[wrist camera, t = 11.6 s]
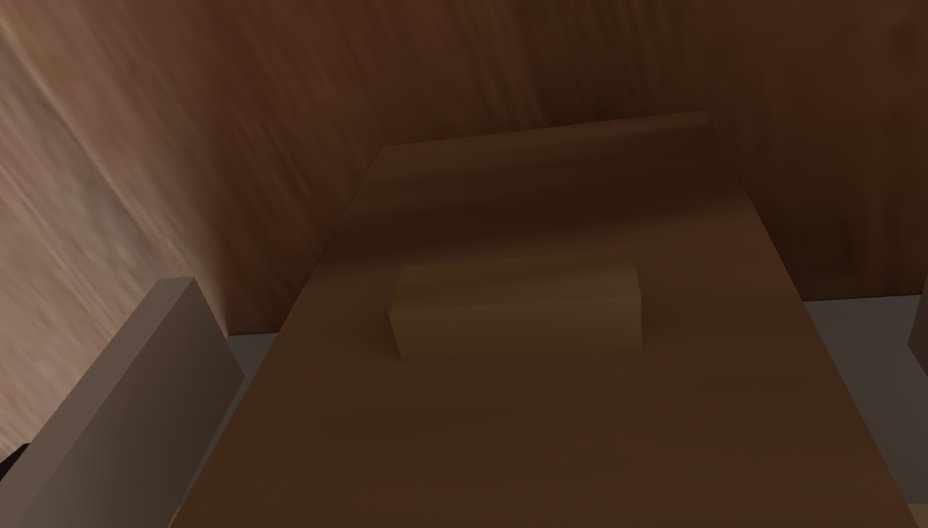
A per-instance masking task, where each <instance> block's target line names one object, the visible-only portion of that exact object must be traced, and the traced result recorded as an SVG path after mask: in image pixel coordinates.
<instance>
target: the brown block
mask: <svg viewBox="0 0 928 528" xmlns="http://www.w3.org/2000/svg"><path fill="white" fill-rule="evenodd" d="M170 528H919V527H918V525H917V523H916V521H915V519H914V518H913V516H912V514H911V512H910V510H909V508H908V506H907V504H906V502H905V500H904V498H903V496H902V494H901V492H900V490H899V488H898V486H897V484H896V482H895V480H894V479H893V477H892V475H891V473H890V471H889V469H888V467H887V465H886V463H885V461H884V459H883V457H882V455H881V453H880V451H879V449H878V447H877V445H876V443H875V442H874V440H873V438H872V436H871V434H870V432H869V430H868V428H867V426H866V424H865V422H864V420H863V418H862V416H861V414H860V412H859V410H858V408H857V406H856V404H855V403H854V401H853V399H852V397H851V395H850V393H849V391H848V389H847V387H846V385H845V383H844V381H843V379H842V377H841V375H840V373H839V371H838V369H837V367H836V365H835V364H834V362H833V360H832V358H831V356H830V354H829V352H828V350H827V348H826V346H825V344H824V342H823V340H822V338H821V336H820V334H819V332H818V330H817V328H816V326H815V325H814V323H813V321H812V319H811V317H810V315H809V313H808V311H807V309H806V307H805V305H804V303H803V301H802V299H801V297H800V295H799V293H798V291H797V289H796V287H795V286H794V284H793V282H792V280H791V278H790V276H789V274H788V272H787V270H786V268H785V266H784V264H783V262H782V260H781V258H780V256H779V254H778V252H777V250H776V248H775V247H774V245H773V243H772V241H771V239H770V237H769V235H768V233H767V231H766V229H765V227H764V225H763V223H762V221H761V219H760V217H759V215H758V213H757V211H756V209H755V208H754V206H753V204H752V202H751V200H750V198H749V196H748V194H747V192H746V190H745V188H744V186H743V184H742V182H741V180H740V178H739V176H738V174H737V172H736V171H735V169H734V167H733V165H732V163H731V161H730V159H729V157H728V155H727V153H726V151H725V149H724V147H723V145H722V143H721V141H720V139H719V137H718V135H717V133H716V132H715V130H714V128H713V126H712V124H711V122H710V120H709V118H708V116H707V114H706V112H705V110H696V111H688V112H679V113H670V114H661V115H652V116H643V117H634V118H626V119H617V120H608V121H599V122H590V123H581V124H573V125H564V126H555V127H546V128H537V129H528V130H520V131H511V132H502V133H493V134H484V135H475V136H467V137H458V138H449V139H440V140H431V141H422V142H414V143H405V144H396V145H387V146H382V147H381V149H380V151H379V153H378V155H377V156H376V158H375V160H374V162H373V164H372V165H371V167H370V169H369V171H368V173H367V174H366V176H365V178H364V180H363V182H362V183H361V185H360V187H359V189H358V191H357V192H356V194H355V196H354V198H353V200H352V201H351V203H350V205H349V207H348V209H347V210H346V212H345V214H344V216H343V218H342V219H341V221H340V223H339V225H338V227H337V228H336V230H335V232H334V234H333V236H332V237H331V239H330V241H329V243H328V244H327V246H326V248H325V250H324V252H323V253H322V255H321V257H320V259H319V261H318V262H317V264H316V266H315V268H314V270H313V271H312V273H311V275H310V277H309V279H308V280H307V282H306V284H305V286H304V288H303V289H302V291H301V293H300V295H299V297H298V298H297V300H296V302H295V304H294V306H293V307H292V309H291V311H290V313H289V315H288V316H287V318H286V320H285V322H284V324H283V325H282V327H281V329H280V331H279V333H278V334H277V336H276V338H275V340H274V341H273V343H272V345H271V347H270V349H269V350H268V352H267V354H266V356H265V358H264V359H263V361H262V363H261V365H260V367H259V368H258V370H257V372H256V374H255V376H254V377H253V379H252V381H251V383H250V385H249V386H248V388H247V390H246V392H245V394H244V395H243V397H242V399H241V401H240V403H239V404H238V406H237V408H236V410H235V412H234V413H233V415H232V417H231V419H230V421H229V422H228V424H227V426H226V428H225V430H224V431H223V433H222V435H221V437H220V438H219V440H218V442H217V444H216V446H215V447H214V449H213V451H212V453H211V455H210V456H209V458H208V460H207V462H206V464H205V465H204V467H203V469H202V471H201V473H200V474H199V476H198V478H197V480H196V482H195V483H194V485H193V487H192V489H191V491H190V492H189V494H188V496H187V498H186V500H185V501H184V503H183V505H182V507H181V509H180V510H179V512H178V514H177V516H176V518H175V519H174V521H173V523H172V525H171V527H170Z"/></svg>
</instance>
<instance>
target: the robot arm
mask: <svg viewBox="0 0 928 528" xmlns="http://www.w3.org/2000/svg"><path fill="white" fill-rule="evenodd" d="M907 345H908V347H909V348H910V350H911V352H912V353H913V355H914V356H915V358H916V360H917V361H918V363H919V364H920V366H921V368H922V369H923V371H924V372H925V374H926V376H927V377H928V273H927V277H926V280H925V284H924V287H923V291H922V294H921V298H920V301H919V305H918V309H917V312H916V316H915V319H914V323H913V326H912V330H911V333H910V337H909V340H908V344H907ZM244 377H245V376H244V374H243V372H242V370H241V368H240V366H239V364H238V362H237V360H236V358H235V356H234V354H233V352H232V350H231V348H230V346H229V345H228V343H227V341H226V339H225V337H224V335H223V333H222V331H221V329H220V327H219V325H218V323H217V321H216V319H215V317H214V315H213V313H212V311H211V309H210V307H209V305H208V303H207V301H206V299H205V297H204V295H203V293H202V291H201V289H200V287H199V285H198V283H197V281H196V279H195V277H194V276H193V277H181V278H168V279H159V280H158V281H157V282H156V284H155V285H154V286H153V287H152V289H151V290H150V291H149V293H148V294H147V295H146V296H145V298H144V299H143V300H142V302H141V303H140V304H139V305H138V307H137V308H136V309H135V310H134V312H133V313H132V314H131V316H130V317H129V318H128V319H127V321H126V322H125V323H124V325H123V326H122V327H121V328H120V330H119V331H118V332H117V333H116V335H115V336H114V337H113V339H112V340H111V341H110V342H109V344H108V345H107V346H106V347H105V349H104V350H103V351H102V353H101V354H100V355H99V356H98V358H97V359H96V360H95V362H94V363H93V364H92V365H91V367H90V368H89V369H88V370H87V372H86V373H85V374H84V376H83V377H82V378H81V379H80V381H79V382H78V383H77V384H76V386H75V387H74V388H73V390H72V391H71V392H70V393H69V395H68V396H67V397H66V399H65V400H64V401H63V402H62V404H61V405H60V406H59V407H58V409H57V410H56V411H55V413H54V414H53V415H52V416H51V418H50V419H49V420H48V421H47V423H46V424H45V425H44V427H43V428H42V429H41V430H40V432H39V433H38V434H37V436H36V437H35V438H34V439H33V441H32V442H31V443H28V444H23V445H22V446H21V447H20V448H18V449H17V450H16V451H15V452H14V453H12V454H11V455H10V456H9V457H8V458H6V459H5V460H4V461H3V462H2V463H0V528H167V527H168V525H169V523H170V521H171V519H172V517H173V515H174V513H175V511H176V509H177V507H178V505H179V503H180V501H181V499H182V497H183V495H184V494H185V492H186V490H187V488H188V486H189V484H190V482H191V480H192V478H193V476H194V474H195V472H196V470H197V468H198V466H199V464H200V462H201V460H202V459H203V457H204V455H205V453H206V451H207V449H208V447H209V445H210V443H211V441H212V439H213V437H214V435H215V433H216V431H217V429H218V427H219V425H220V424H221V422H222V420H223V418H224V416H225V414H226V412H227V410H228V408H229V406H230V404H231V402H232V400H233V398H234V396H235V394H236V392H237V390H238V389H239V387H240V385H241V383H242V381H243V379H244Z"/></svg>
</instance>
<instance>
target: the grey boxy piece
mask: <svg viewBox="0 0 928 528" xmlns="http://www.w3.org/2000/svg"><path fill="white" fill-rule="evenodd" d="M920 298H921V295H908V296H891V297H874V298H858V299H841V300H824V301H807V302H803V303H804V305H805V307H806V309H807V311H808V313H809V315H810V317H811V319H812V321H813V323H814V325H815V326H816V328H817V330H818V332H819V334H820V336H821V338H822V340H823V342H824V344H825V346H826V348H827V350H828V352H829V354H830V356H831V358H832V360H833V362H834V364H835V365H836V367H837V369H838V371H839V373H840V375H841V377H842V379H843V381H844V383H845V385H846V387H847V389H848V391H849V393H850V395H851V397H852V399H853V401H854V403H855V404H856V406H857V408H858V410H859V412H860V414H861V416H862V418H863V420H864V422H865V424H866V426H867V428H868V430H869V432H870V434H871V436H872V438H873V440H874V442H875V443H876V445H877V447H878V449H879V451H880V453H881V455H882V457H883V459H884V461H885V463H886V465H887V467H888V469H889V471H890V473H891V475H892V477H893V479H894V480H895V482H896V484H897V486H898V488H899V490H900V492H901V494H902V496H903V498H904V500H905V502H906V504H907V506H908V508H909V510H910V512H911V514H912V516H913V518H914V519H915V521H916V523H917V525H918V527H919V528H928V377H927V376H926V374H925V372H924V371H923V369H922V368H921V366H920V364H919V363H918V361H917V360H916V358H915V356H914V355H913V353H912V352H911V350H910V348H909V347H908V345H907V344H908V340H909V337H910V333H911V330H912V326H913V323H914V319H915V316H916V312H917V309H918V305H919V301H920ZM277 334H278V333H268V334H251V335H234V336H227V338H226V341H227V343H228V345H229V346H230V348H231V350H232V352H233V354H234V356H235V358H236V360H237V362H238V364H239V366H240V368H241V370H242V372H243V374H244V376H245V377H244V379H243V381H242V383H241V385H240V387H239V389H238V390H237V392H236V394H235V396H234V398H233V400H232V402H231V404H230V406H229V408H228V410H227V412H226V414H225V416H224V418H223V420H222V422H221V424H220V425H219V427H218V429H217V431H216V433H215V435H214V437H213V439H212V441H211V443H210V445H209V447H208V449H207V451H206V453H205V455H204V457H203V459H202V460H201V462H200V464H199V466H198V468H197V470H196V472H195V474H194V476H193V478H192V480H191V482H190V484H189V486H188V488H187V490H186V492H185V494H184V495H183V497H182V499H181V501H180V503H179V505H178V507H177V509H176V511H175V513H174V515H173V517H172V519H171V521H170V523H169V525H168V527H167V528H170V527H171V525H172V523H173V521H174V519H175V518H176V516H177V514H178V512H179V510H180V509H181V507H182V505H183V503H184V501H185V500H186V498H187V496H188V494H189V492H190V491H191V489H192V487H193V485H194V483H195V482H196V480H197V478H198V476H199V474H200V473H201V471H202V469H203V467H204V465H205V464H206V462H207V460H208V458H209V456H210V455H211V453H212V451H213V449H214V447H215V446H216V444H217V442H218V440H219V438H220V437H221V435H222V433H223V431H224V430H225V428H226V426H227V424H228V422H229V421H230V419H231V417H232V415H233V413H234V412H235V410H236V408H237V406H238V404H239V403H240V401H241V399H242V397H243V395H244V394H245V392H246V390H247V388H248V386H249V385H250V383H251V381H252V379H253V377H254V376H255V374H256V372H257V370H258V368H259V367H260V365H261V363H262V361H263V359H264V358H265V356H266V354H267V352H268V350H269V349H270V347H271V345H272V343H273V341H274V340H275V338H276V336H277Z"/></svg>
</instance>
